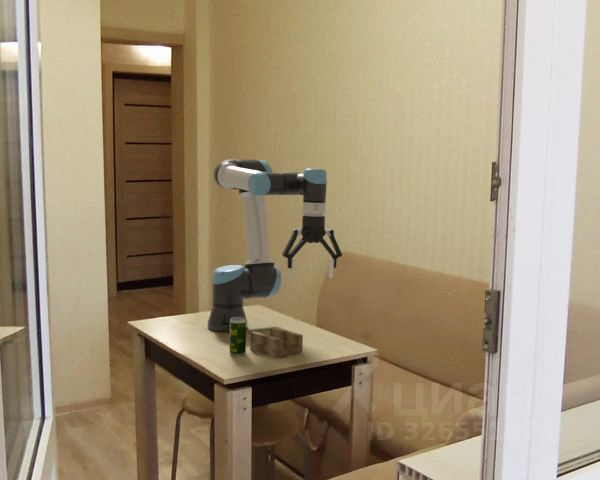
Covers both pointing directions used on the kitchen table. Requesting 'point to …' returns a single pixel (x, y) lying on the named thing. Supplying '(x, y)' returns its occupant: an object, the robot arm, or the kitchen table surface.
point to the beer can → (237, 336)
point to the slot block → (276, 343)
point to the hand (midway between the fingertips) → (311, 277)
